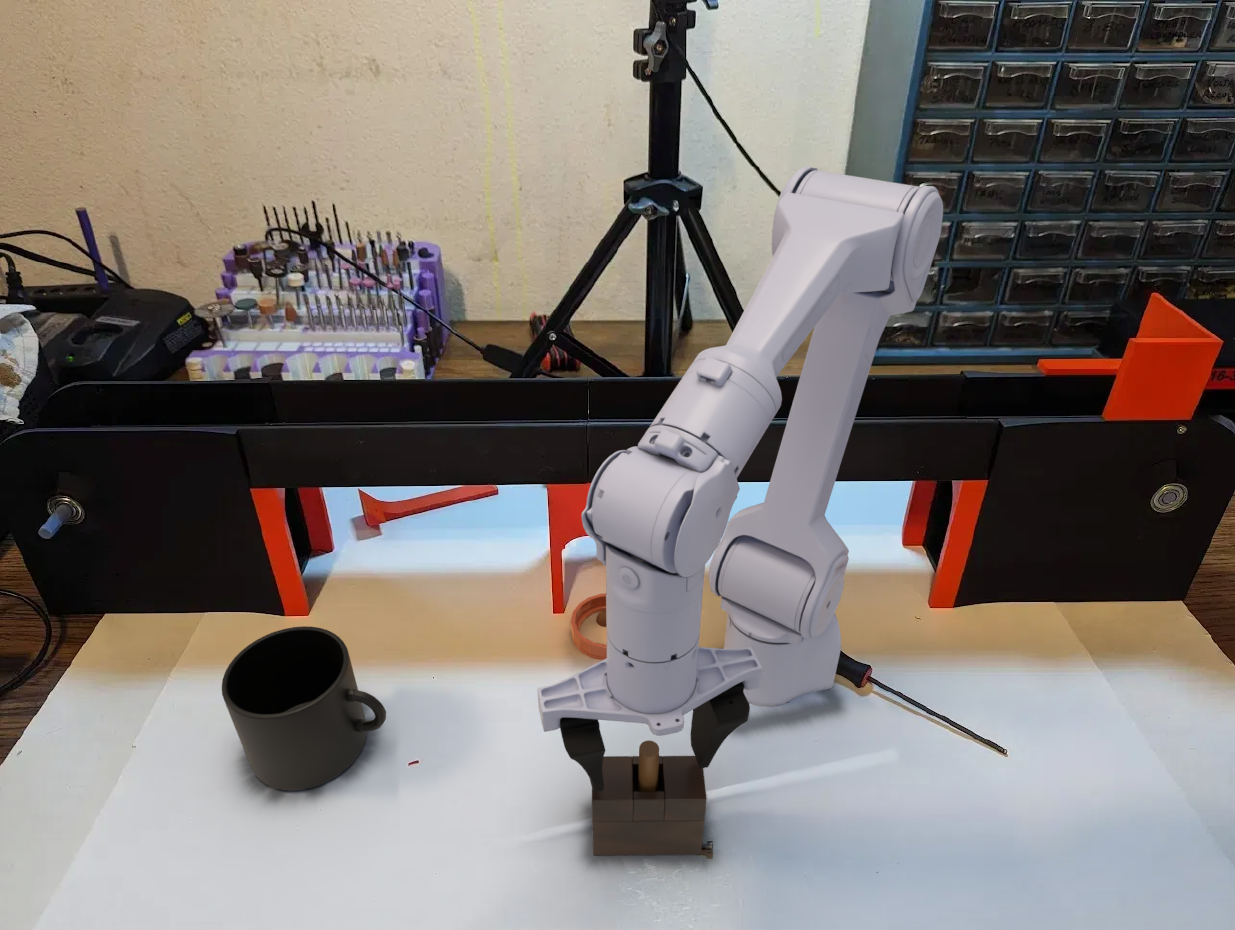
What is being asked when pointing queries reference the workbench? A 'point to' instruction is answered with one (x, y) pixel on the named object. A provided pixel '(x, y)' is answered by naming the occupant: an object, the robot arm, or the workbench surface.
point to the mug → (298, 707)
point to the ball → (601, 618)
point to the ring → (578, 617)
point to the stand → (649, 809)
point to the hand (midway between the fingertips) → (648, 767)
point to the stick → (648, 766)
